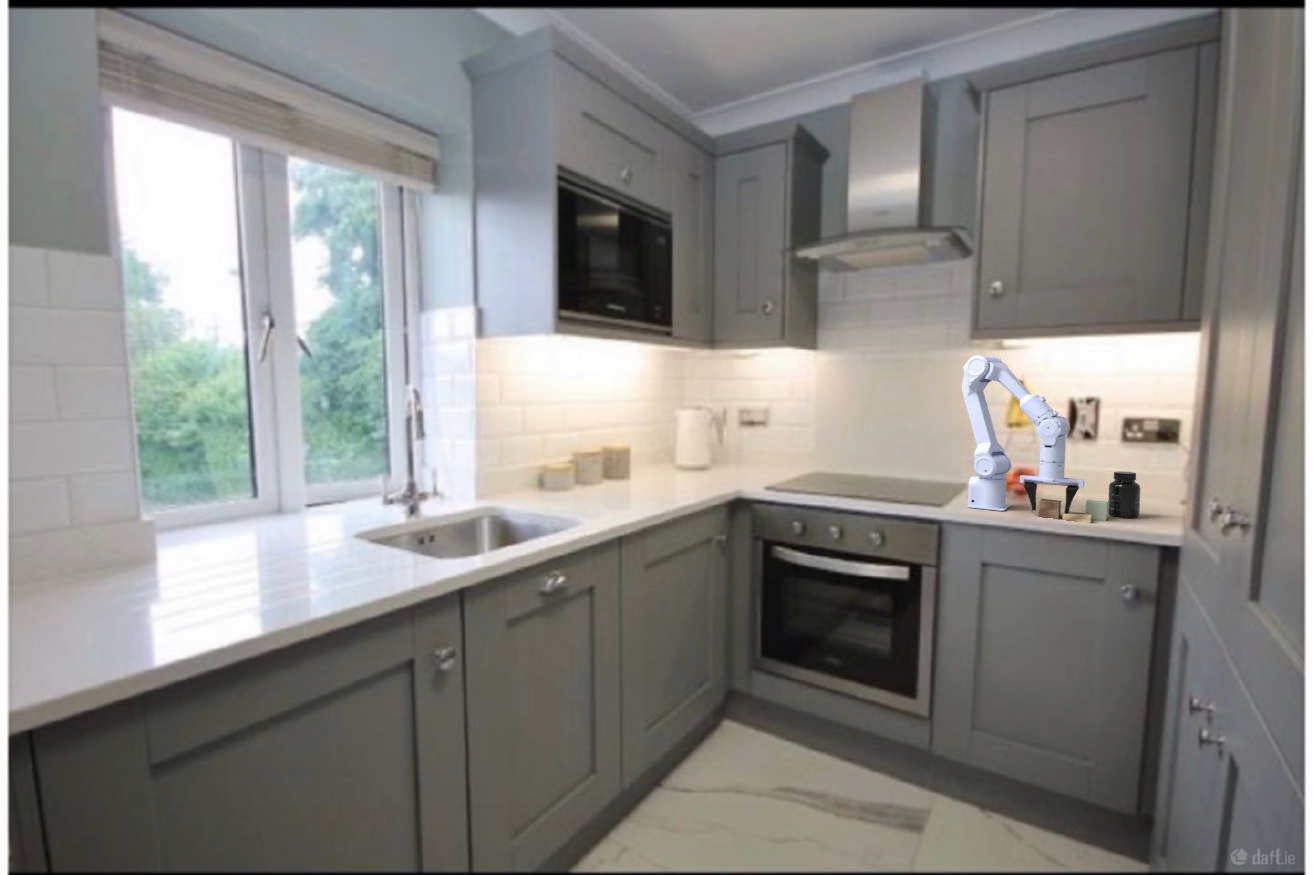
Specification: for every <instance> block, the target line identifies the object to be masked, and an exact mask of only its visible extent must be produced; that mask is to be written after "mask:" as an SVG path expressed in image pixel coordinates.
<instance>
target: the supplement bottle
mask: <svg viewBox="0 0 1313 875" xmlns="http://www.w3.org/2000/svg"><path fill="white" fill-rule="evenodd" d="M1113 479H1114V480H1113V481H1111V482H1110V483H1109V484H1108V499H1107V500H1108V501H1107V502H1108V516H1110V517H1113V518H1116V517H1118V519H1125V518H1127V519H1130V520H1131V519H1138V518H1139V517H1140V510H1141V509H1140V508H1141V486H1140V484H1139V483H1138V482H1136V481H1137V473H1136V472H1133V471H1114V472H1113Z"/></svg>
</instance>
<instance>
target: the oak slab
mask: <svg viewBox="0 0 1313 875" xmlns="http://www.w3.org/2000/svg"><path fill="white" fill-rule="evenodd" d="M1091 519H1092V513H1086V512H1081V511H1080V512H1079V511H1070V510H1069V513H1068V514H1065V511H1064V512H1063V514H1062V521H1063V520H1066V521H1065V522H1071V521H1074V522H1073V523H1083V524H1091V523H1092V520H1093V519H1092V520H1091Z"/></svg>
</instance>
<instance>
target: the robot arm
mask: <svg viewBox="0 0 1313 875" xmlns="http://www.w3.org/2000/svg"><path fill="white" fill-rule="evenodd" d="M962 369H963V372H964V374H963V379H962V383H961V392H962V395H963V400H964V403H965V408H966V411H967V414H968V417H969V422H970V425H971V430H972V432H973V436H974V440H975V444H976V449H975V451H974V454H973V456H974V464H973V469H974V471H975V473H976V474H977V476H976V475H975V476H974V475H973V476H970V478H969V480H968V495H967V498H968V499H967V506H966V507H967V508H972V509H981V510H990V511H991V510H992V511H1000V512H1005V511H1006V510H1007V509H1008V508H1010V505H1009V504H1006V500H1007V499H1006V496H1007V495H1006V494H1007V493H1006V492H1007V473H1009V472H1010V470H1011V468H1012V461H1011V459H1010V458H1009V457H1008V455H1007V454H1006V452H1005V449H1004V447H1003V446H1002V445H1001V444H1000V443H999V442H998V439H997V435H996V432H995V428H994V425H993V421H992V418H991V414H990V411H989V406H988V403H987V399H986V396H985V392H984V391H985V389H986V388H987V386H988V385H989V384H990V383H991V382H992V381H993V382H998V383H999V384H1000V385H1001V386H1002V387H1004V388H1005V389H1006V390H1007V391H1008V393H1010V394H1011V395H1012V396H1013V397H1014V398H1015V399H1016V400H1017V401H1018V402H1019V410H1020V411H1021V412H1022V413H1023V414H1024V415H1025V416H1026V417H1027V418H1028V419H1029V420H1030V422H1032V423H1033V425H1034V426H1036V432H1037V435H1039V437H1040V446H1039V447H1040V448H1039V467H1038V468H1039V469H1038V470H1039V471H1038V472H1039V473H1038V475H1023V474H1021V475H1020V476H1019V483H1020V484H1024V485H1023V487H1024V490H1025V492H1026V494H1027V496H1028V499H1029V502H1030V506H1031V511H1034V512H1035V511H1036V510H1037V489H1038V485H1045V486H1046V485H1048V486H1061V487H1065V507H1064V512H1065V514H1068V513H1069V511H1070V509H1071V505H1072V503H1073V500H1074V497H1075V496H1076V494H1077V493H1078V491H1079V488H1081V489H1083V488H1084V487H1085V479H1079V478H1070V477H1065V464H1066V447H1067V446H1066V438H1067V435H1068V434H1069V432H1070V430H1071V424H1070V422H1069V420H1068V419H1067V417H1064V416H1062V415H1059V412H1058V411H1057V410H1053V408H1051V406H1050V405H1049V404H1048V403H1047V402H1046V401H1047V398H1046V397H1044V396H1040V395H1038V394H1032V393H1030V391H1029V390H1028V389H1027V388H1026V387H1025V386H1024V384H1023V383H1022V382H1021V381H1020V380H1019V378H1017V376H1016V375H1015V374H1014V373H1013V371H1012V370H1011V369H1010V368H1009V366H1008V364H1007V363H1005V362H1003V361H1002V360H1001V358H1000V357H998V356H995V355H990V356H988V355H987V356H985V355H978V354H977V355H973V356H972V357H970V358H969V359H968V360H967V362H966V363H965V364H964V365H963V368H962Z"/></svg>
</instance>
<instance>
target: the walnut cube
mask: <svg viewBox="0 0 1313 875" xmlns="http://www.w3.org/2000/svg"><path fill="white" fill-rule="evenodd" d="M1061 510H1062V500H1060V499H1049V498H1041V499H1040V500H1039V501H1038V518H1039V517H1042V519H1048V518H1053V519H1052V520H1059V519H1060V518H1061V512H1062V511H1061ZM1059 517H1060V518H1059ZM1058 518H1059V519H1058Z"/></svg>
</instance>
